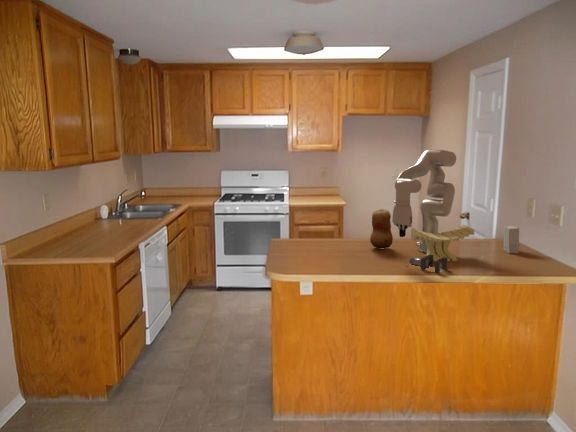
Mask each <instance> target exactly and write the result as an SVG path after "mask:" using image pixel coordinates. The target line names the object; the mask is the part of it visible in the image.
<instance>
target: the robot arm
mask: <svg viewBox="0 0 576 432" xmlns="http://www.w3.org/2000/svg"><path fill="white" fill-rule="evenodd" d="M456 162H457V156H456V154H455V153H454V152H453V151H450V150H444V149H426V150H424V151H423V152H421V155H420V157H419V158H418V160H417V161H416V162H415V164H414V165H412V166H410V167H408V168H407V169H404V170H403V171H401V172H400V173H399V175H398V177H397V178H396V180H395V182H394V189H395V200H394V201H393V204H395V205H394V207H393V210H392V217H391V218H392V224H393V225H394V226H396V227H397V228H398V229H397V230H399V231H398V233H399V235H398V236H399V237H400V238H404V237H406V231H407V230H408V228H411V227H412V228H413V225H412V224H413V210H412V206H411V194H416V193H419V192H420V191H421V190H422V182H421V181H420V180H419V179H417V178H421V177H424V176H426V175H427V174H428V173H429V172H430V173H429V174H430V175H429V179H428V184H427V189H426V196H428V197H429V198H427V199H423V200H422V201H421V202H420V204H419V205H420V207H419V208H420V215H421V231H423V232H425V233H432V234H433V233H439V220H438V218H437V217H442V218H443V217H448V216H449V215H450V213H451V211H452V207H453V204H454V203H453V202H454V199H455V193H456V189H455V186H454V184H453V183H451V182H446V181H445V179H446V174H445V172H444V170H443V169H442V167H445V168H446V167H453V166H454V165H455V164H456ZM432 198H434V199H432ZM420 241H421V242H420ZM420 241H416V244H415V245H416V246H417V247H419V248H418V251H419V252H420V251H421V252H420V253H423V252H424V254H427V246H426V243H425V240H423V239H422V240H420Z"/></svg>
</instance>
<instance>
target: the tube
mask: <svg viewBox="0 0 576 432" xmlns="http://www.w3.org/2000/svg"><path fill="white" fill-rule="evenodd" d="M408 262H409V263H408V264H411V265H415V266H420V267H421V258H419V257H414V256H413V257H412V256H411V257H410V258H409V260H408ZM429 266H430V261H429V260H428V259H427V260H426V268H429Z"/></svg>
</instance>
